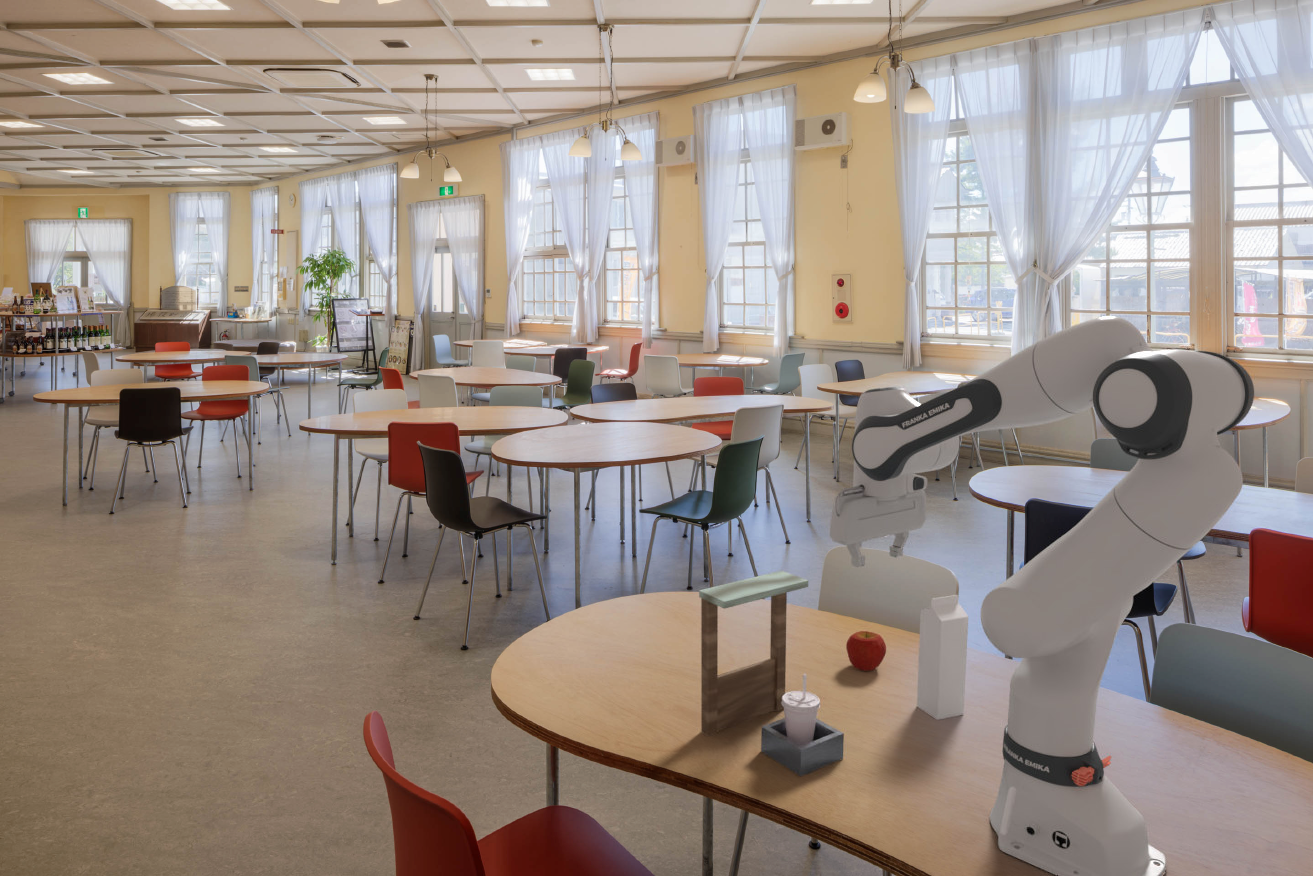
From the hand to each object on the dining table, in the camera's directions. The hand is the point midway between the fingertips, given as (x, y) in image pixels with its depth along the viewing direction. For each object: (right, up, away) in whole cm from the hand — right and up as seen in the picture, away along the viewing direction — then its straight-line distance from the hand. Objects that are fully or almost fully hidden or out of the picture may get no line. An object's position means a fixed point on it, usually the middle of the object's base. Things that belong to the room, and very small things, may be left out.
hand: (877, 561), depth 149 cm
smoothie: (-14, -32, -2) cm, 35 cm away
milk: (+15, -30, +12) cm, 35 cm away
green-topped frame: (-20, -31, +7) cm, 37 cm away
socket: (-14, -32, -3) cm, 35 cm away
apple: (+5, -27, +31) cm, 41 cm away
